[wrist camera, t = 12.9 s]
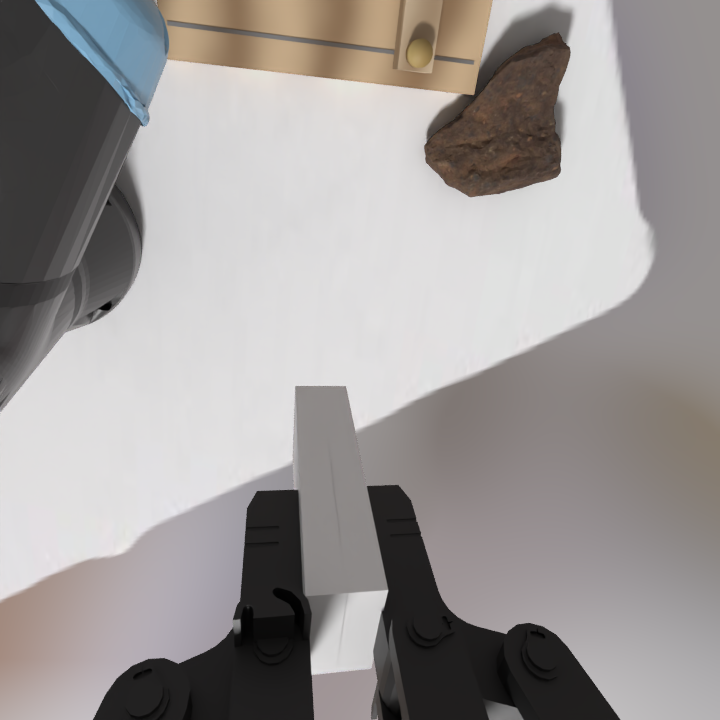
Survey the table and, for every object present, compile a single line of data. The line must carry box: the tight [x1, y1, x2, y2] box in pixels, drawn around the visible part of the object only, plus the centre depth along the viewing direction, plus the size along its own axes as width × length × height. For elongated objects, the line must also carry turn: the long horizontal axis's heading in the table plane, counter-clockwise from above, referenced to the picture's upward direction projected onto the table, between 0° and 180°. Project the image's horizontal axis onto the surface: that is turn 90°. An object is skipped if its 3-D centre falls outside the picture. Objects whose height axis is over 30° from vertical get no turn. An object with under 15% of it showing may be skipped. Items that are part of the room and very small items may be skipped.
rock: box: [424, 32, 570, 197], centre depth 37 cm, size 11×10×4 cm
